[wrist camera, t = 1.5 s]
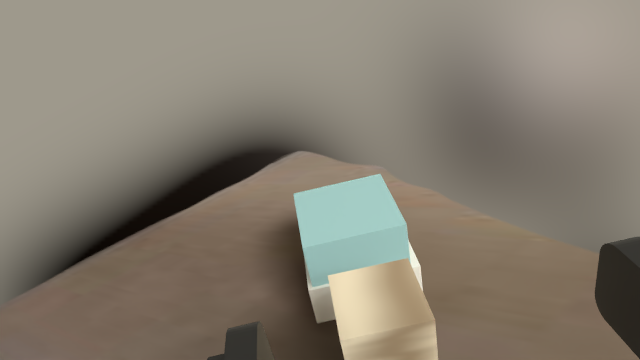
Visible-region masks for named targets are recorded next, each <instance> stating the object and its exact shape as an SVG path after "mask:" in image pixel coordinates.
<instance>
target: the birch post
mask: <svg viewBox="0 0 640 360" xmlns="http://www.w3.org/2000/svg"><path fill="white" fill-rule="evenodd" d="M328 280H329V285H330V290H331V296H332V301H333V306H334V311H335V317H336V322H337V327H338V332H339V338H340V343H341V347H342V351H343V355H344V360H438V352H437V339H436V327H435V319H434V316H433V314H432V312H431V310H430V307H429V305H428V303H427V300H426V298H425V296H424V294H423V291H422V289H421V287H420V284H419V282H418V280H417V278H416V275H415V273H414V271H413V268H412V266H411V264H410V261H409V259H408V258H406V259H401V260H396V261H392V262H387V263H383V264H378V265H373V266H369V267H364V268H360V269H355V270H351V271H346V272H341V273H337V274H332V275H328Z"/></svg>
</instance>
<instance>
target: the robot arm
mask: <svg viewBox="0 0 640 360" xmlns="http://www.w3.org/2000/svg"><path fill="white" fill-rule="evenodd" d="M595 300H596V303H597V306H598V309H599V311H600V313H601V315H602V316H603V318H604V319H605V320H606V322H607V323H608V324H609V325H610V326H611V327H612V328H613V329H614V331H615V332H616V333H617V334H618V335H619V336H620V337H621V338H622V340H623V341H624V342H625V343H626V344H627V345H628V346H629V347H630V349H631V350H632V351H633V352H634V353H635V354H636V355H637V357H638V358H639V359H640V237H634V238H629V239H625V240H620V241H616V242H611V243H607V244H604V245H603V246H602V247H601V249H600V255H599V263H598V271H597V279H596V287H595ZM207 360H275V359H274V356H273V354H272V351H271V348H270V345H269V342H268V340H267V337H266V334H265V331H264V328H263V326H262V324H261V322H260V321H259V322H254V323H250V324H245V325H241V326H237V327H232V328H228V330H227V333H226V342H225V353H224V354H221V355H217V356H212V357H208V359H207Z"/></svg>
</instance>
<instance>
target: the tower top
mask: <svg viewBox="0 0 640 360" xmlns="http://www.w3.org/2000/svg"><path fill="white" fill-rule="evenodd" d="M294 200H295V206H296V212H297V218H298V224H299V230H300V236H301V242H302V248H303V252H304V256H305V260H306V264H307V268H308V271H309V275H310V279H311V283H312V287H316V286H320V285H324V284H329V280H328V275H332V274H337V273H341V272H346V271H351V270H355V269H360V268H364V267H369V266H373V265H378V264H383V263H387V262H392V261H396V260H401V259H406V258H408V259H409V261H410V252H409V243H408V234H407V225H406V222H405V220H404V218H403V216H402V215H401V213H400V211H399V209H398V207H397V205H396V203H395V201H394V199H393V197H392V195H391V194H390V192H389V190H388V188H387V186H386V184H385V182H384V180H383V178H382V176H381V174H377V175H373V176H369V177H364V178H360V179H355V180H351V181H347V182H342V183H338V184H334V185H329V186H325V187H320V188H316V189H312V190H307V191H303V192H299V193H294ZM410 264H411V262H410Z"/></svg>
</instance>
